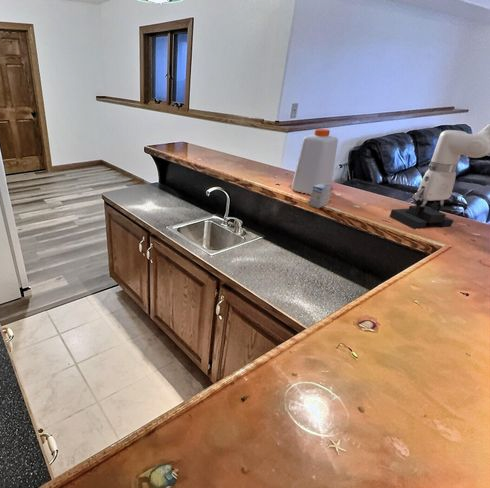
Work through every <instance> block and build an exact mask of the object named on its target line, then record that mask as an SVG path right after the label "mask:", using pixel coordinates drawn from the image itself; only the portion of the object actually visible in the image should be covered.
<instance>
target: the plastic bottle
mask: <svg viewBox="0 0 490 488" xmlns="http://www.w3.org/2000/svg"><path fill="white" fill-rule="evenodd" d="M330 133H331V132H330V130H329V129H327V128H316V129H315V130H314V133H313V134H310V135H306V136H304V137H303V140H302V144H301V148H300V150H299V151H300V152H299V155H298V160H297V164H296V167H295V171H294V175H293V179H292V183H291V190H292V191H293V190H294V192H296V191H298V192H297V193H299V192H301V193H300V194H303V193H305V194H304V195H307V194H309V195H308V196H311V195H312V191H313V187H314V186H316V185H319V184H322V183H325V184H329V185H332V183H333V176H334V170H335V162H336V157H337V151H338V150H337V149H338V142H339V138H338V137H337V136H332V135H330Z"/></svg>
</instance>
